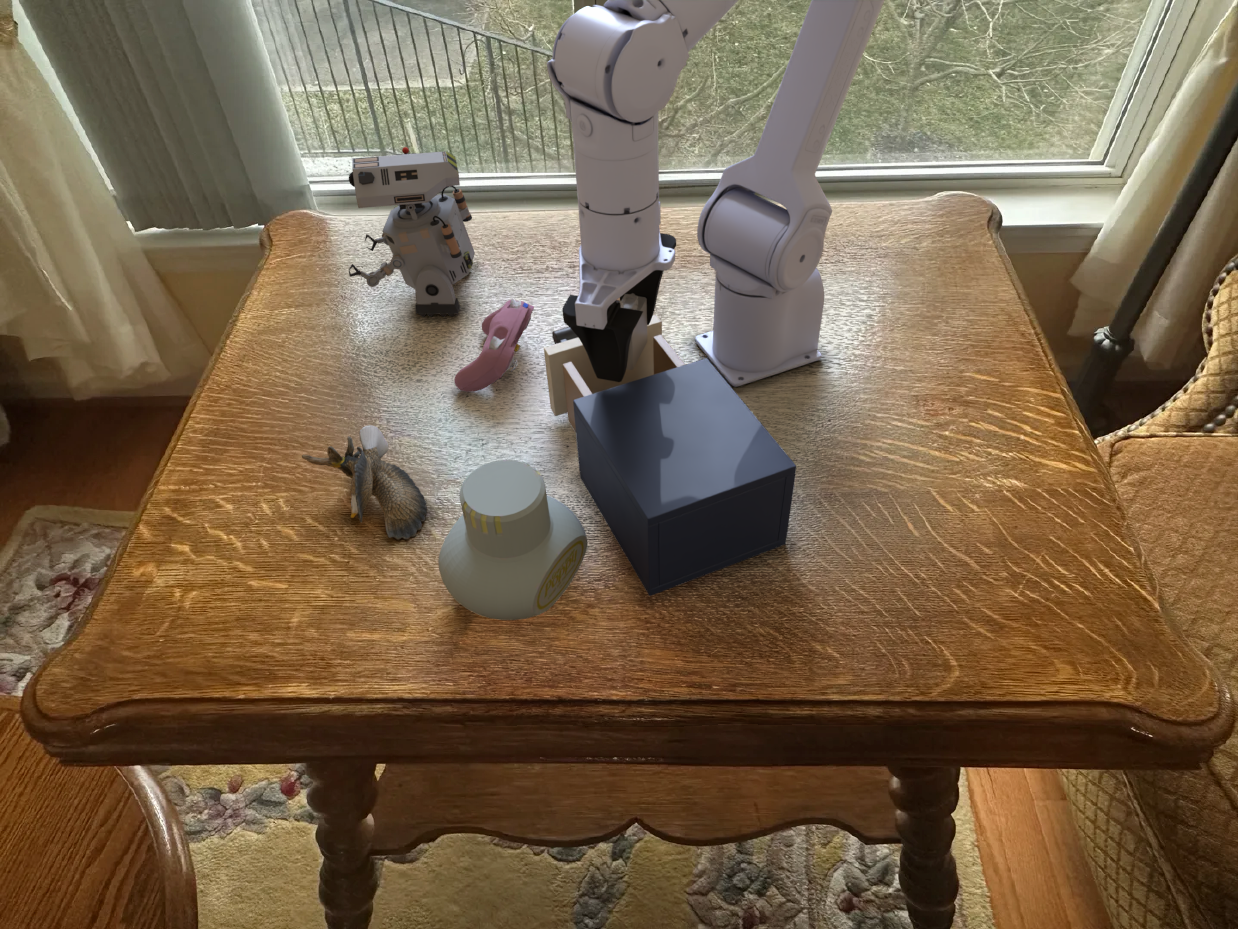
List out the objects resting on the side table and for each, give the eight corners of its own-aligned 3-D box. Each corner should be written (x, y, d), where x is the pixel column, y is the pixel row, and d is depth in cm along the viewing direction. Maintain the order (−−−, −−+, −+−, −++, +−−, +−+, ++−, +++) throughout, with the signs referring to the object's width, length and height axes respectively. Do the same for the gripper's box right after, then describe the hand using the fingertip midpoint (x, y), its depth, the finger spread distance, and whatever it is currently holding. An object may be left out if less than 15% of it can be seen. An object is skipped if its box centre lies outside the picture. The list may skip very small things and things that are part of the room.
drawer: (533, 380, 86) (525, 319, 81) (637, 348, 89) (635, 288, 84) (606, 502, 75) (602, 440, 70) (721, 461, 78) (725, 399, 73)
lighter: (628, 336, 79) (625, 254, 73) (648, 340, 79) (646, 257, 73) (600, 389, 74) (594, 306, 69) (620, 393, 74) (616, 309, 68)
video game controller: (494, 411, 87) (519, 361, 82) (448, 389, 86) (471, 338, 81) (523, 346, 93) (548, 296, 89) (481, 325, 93) (504, 274, 88)
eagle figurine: (292, 502, 76) (347, 548, 70) (307, 418, 74) (365, 458, 68) (375, 500, 81) (432, 542, 75) (391, 421, 80) (451, 458, 74)
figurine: (381, 268, 102) (347, 135, 91) (486, 267, 101) (465, 134, 90) (361, 318, 95) (322, 182, 85) (473, 318, 94) (448, 181, 84)
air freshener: (514, 511, 76) (499, 419, 69) (602, 549, 73) (595, 457, 65) (429, 608, 69) (403, 518, 62) (522, 655, 66) (505, 565, 59)
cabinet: (579, 477, 78) (572, 399, 72) (704, 435, 81) (707, 357, 75) (649, 597, 69) (647, 519, 63) (786, 544, 72) (796, 465, 66)
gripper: (643, 257, 60) (646, 416, 69) (699, 152, 69) (695, 304, 79) (540, 242, 62) (557, 399, 71) (608, 141, 71) (616, 291, 81)
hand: (624, 348), depth 75 cm, fingers closed on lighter, 7 cm apart
